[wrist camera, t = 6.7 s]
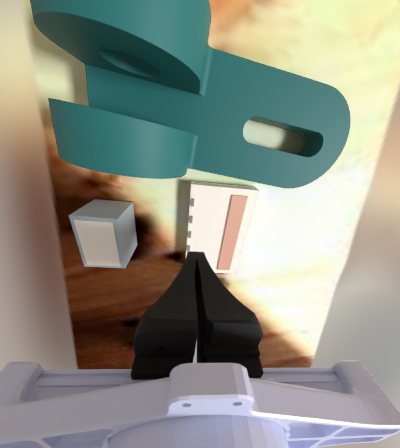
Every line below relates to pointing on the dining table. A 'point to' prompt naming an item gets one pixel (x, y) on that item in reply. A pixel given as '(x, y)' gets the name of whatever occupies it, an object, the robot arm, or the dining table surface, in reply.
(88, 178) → the dining table surface
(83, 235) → the stub
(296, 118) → the bracket
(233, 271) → the spiral notebook
